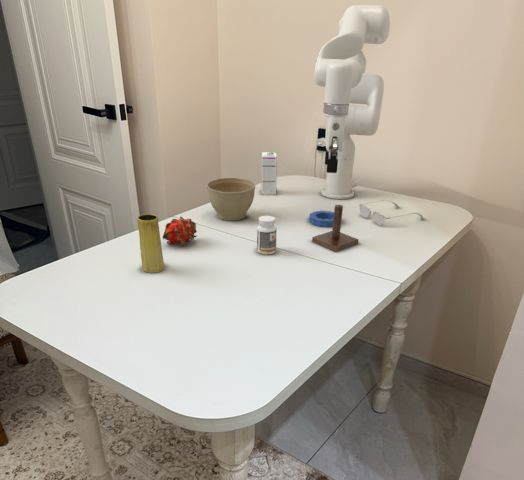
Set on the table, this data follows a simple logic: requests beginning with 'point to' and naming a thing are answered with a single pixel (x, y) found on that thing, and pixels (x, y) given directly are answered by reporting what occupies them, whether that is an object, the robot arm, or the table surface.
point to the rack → (335, 234)
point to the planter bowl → (231, 197)
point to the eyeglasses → (378, 216)
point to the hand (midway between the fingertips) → (330, 168)
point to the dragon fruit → (179, 231)
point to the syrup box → (269, 173)
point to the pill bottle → (266, 235)
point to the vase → (150, 243)
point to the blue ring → (316, 219)
